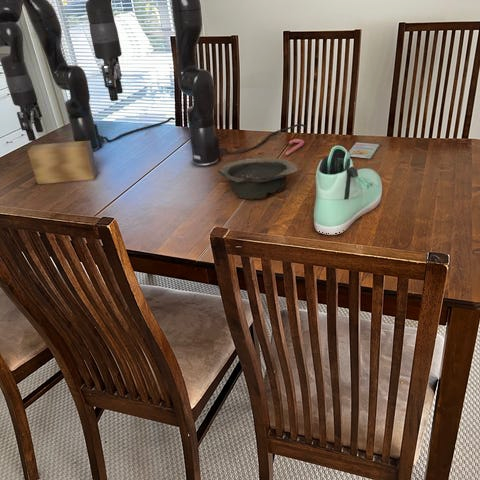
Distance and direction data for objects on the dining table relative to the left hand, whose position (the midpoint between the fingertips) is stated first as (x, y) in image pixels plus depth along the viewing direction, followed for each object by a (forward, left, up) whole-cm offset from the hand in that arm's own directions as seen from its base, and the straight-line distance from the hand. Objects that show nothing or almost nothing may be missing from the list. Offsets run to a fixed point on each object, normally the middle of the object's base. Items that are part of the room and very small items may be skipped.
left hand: (36, 136), depth 164 cm
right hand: (-13, +34, +14) cm, 39 cm away
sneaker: (-41, +99, -16) cm, 108 cm away
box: (-5, +5, -16) cm, 18 cm away
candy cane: (-70, +57, -16) cm, 92 cm away
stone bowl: (-36, +68, -16) cm, 79 cm away
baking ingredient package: (-82, +80, -16) cm, 116 cm away
